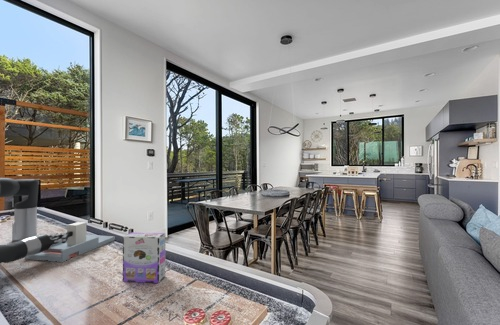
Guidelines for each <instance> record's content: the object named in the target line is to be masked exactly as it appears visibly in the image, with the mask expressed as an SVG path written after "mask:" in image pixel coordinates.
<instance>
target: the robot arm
mask: <svg viewBox="0 0 500 325" xmlns="http://www.w3.org/2000/svg"><path fill="white" fill-rule="evenodd" d="M12 196H17V197H18V196H19V197H22V196H27V198H26V199H24V200H22V201H19V202H16V203H14V206H13V207H14V210H13V214H14V217H13V218H14V220H13V222H12V224H11V226H12V228H11V241H13V242H10V243H7V244H0V264H2V263H5V264H8V263H13V262H15V261H18V260H21V259H25V257H29V256H32V255H35V254H38V253H41V252H44V251H46V250H48V249H49V248H50V246H51V245H55V244H56V243H59V242H62V243H65V242H66V241H67V240H68V237H71V236H73V232H70V231H69V232H67V231H66V232H64V233H62V232H61V233H58V232H55V233H52V234H46V233H40V234H37V233H38V232H37V230H38V229H37V228H38V227H37V226H38V224H37V223H38V197H39V182H38V180H37V179H35V178H18V179H15V178H9V177H0V198H9V197H12Z"/></svg>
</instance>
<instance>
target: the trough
mask: <svg viewBox="0 0 500 325" xmlns="http://www.w3.org/2000/svg"><path fill="white" fill-rule="evenodd" d="M115 240H116V239H115V236H114V235H113V236H112V235H99V234H98V235H97V234H86V241H85V242H82V243H80V244H77V245H74V246H70V245H67V241H66V242H65V243H62V242H59V243H56V244H55V245H51V246H50V248H49V249H48V250H46V251H43V252H41V253H38V254H35V255H32V256H29V257H25V258H24V259H27V260H37V261H44V260H48V261H47V262H55V261H57V262H56V263H64V262H66V260H67V261H69V260H70V259H71V257H72V258H75V257H77V256H81V255H83V254H85V253H88V252H90V251H92V250H95V249H97V248H100V247H101V246H105V245H107V244H109V243H111V242H114V241H115ZM76 255H77V256H76Z"/></svg>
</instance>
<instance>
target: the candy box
mask: <svg viewBox="0 0 500 325" xmlns="http://www.w3.org/2000/svg"><path fill="white" fill-rule="evenodd" d="M165 277H166V232H164V233H163V232H137V231H136V232H133V231H132V232H129V233H128V234H126V235H123V236H122V282H126V283H129V282H130V283H144V284H145V283H147V284H149V283H151V284H159V283H160V282H161V281H162V280H163V279H164V278H165Z"/></svg>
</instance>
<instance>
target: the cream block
mask: <svg viewBox="0 0 500 325" xmlns="http://www.w3.org/2000/svg"><path fill="white" fill-rule="evenodd" d="M66 228H67V230H66V232H69V231H70V232H73V236H71V237H68V240H67V245H70V246H74V245H77V244H80V243H82V242H85V241H86V235H87V222H83V221H76V222H74V223H70V224H67V226H66Z"/></svg>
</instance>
